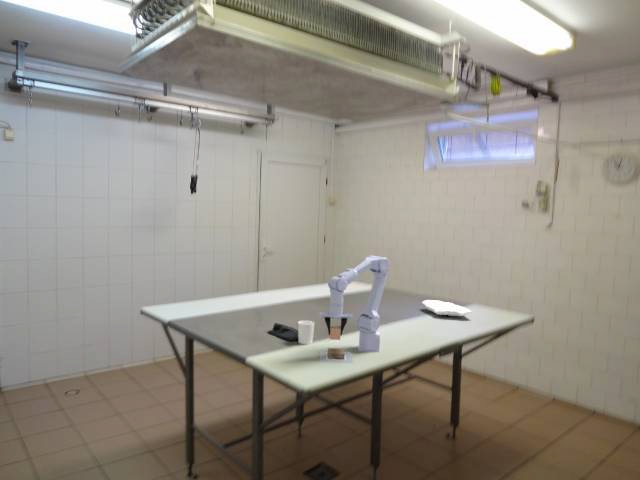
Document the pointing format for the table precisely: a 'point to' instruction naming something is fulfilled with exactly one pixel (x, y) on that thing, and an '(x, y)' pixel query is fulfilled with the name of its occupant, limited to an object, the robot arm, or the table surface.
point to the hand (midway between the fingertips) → (335, 334)
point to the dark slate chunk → (284, 332)
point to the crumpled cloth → (445, 308)
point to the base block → (336, 353)
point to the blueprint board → (325, 359)
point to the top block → (335, 332)
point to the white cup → (305, 332)
